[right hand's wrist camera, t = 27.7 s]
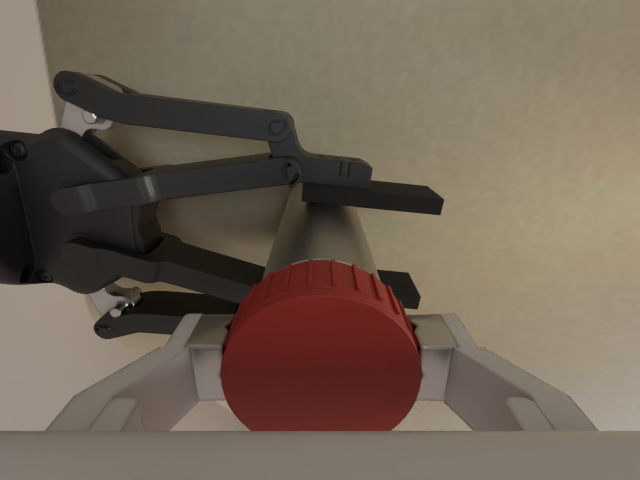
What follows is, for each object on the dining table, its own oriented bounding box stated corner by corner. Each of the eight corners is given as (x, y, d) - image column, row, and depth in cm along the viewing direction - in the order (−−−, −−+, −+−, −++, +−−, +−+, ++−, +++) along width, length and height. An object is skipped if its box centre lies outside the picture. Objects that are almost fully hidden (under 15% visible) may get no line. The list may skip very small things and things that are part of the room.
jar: (356, 175, 23) (414, 292, 9) (348, 236, 25) (387, 419, 11) (290, 169, 23) (241, 280, 9) (286, 232, 25) (241, 410, 10)
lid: (411, 252, 9) (433, 287, 8) (404, 397, 11) (419, 452, 10) (221, 261, 10) (199, 297, 8) (246, 403, 12) (232, 458, 10)
